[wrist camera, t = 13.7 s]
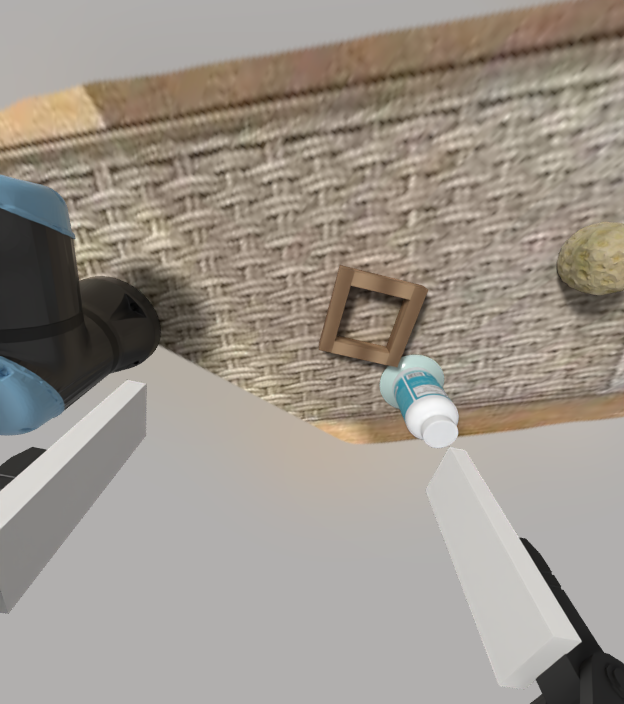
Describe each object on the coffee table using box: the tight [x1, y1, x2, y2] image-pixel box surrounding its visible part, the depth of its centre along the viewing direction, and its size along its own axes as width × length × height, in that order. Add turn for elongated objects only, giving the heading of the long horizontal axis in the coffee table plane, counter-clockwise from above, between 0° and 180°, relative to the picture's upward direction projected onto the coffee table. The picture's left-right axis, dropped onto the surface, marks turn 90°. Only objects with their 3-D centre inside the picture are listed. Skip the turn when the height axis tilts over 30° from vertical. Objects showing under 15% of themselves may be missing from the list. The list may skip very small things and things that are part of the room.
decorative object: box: [557, 222, 624, 295], centre depth 42 cm, size 9×10×10 cm
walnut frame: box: [319, 265, 428, 367], centre depth 48 cm, size 13×13×3 cm
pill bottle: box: [392, 367, 459, 448], centre depth 48 cm, size 8×7×14 cm
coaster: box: [380, 354, 444, 409], centre depth 54 cm, size 11×11×1 cm
